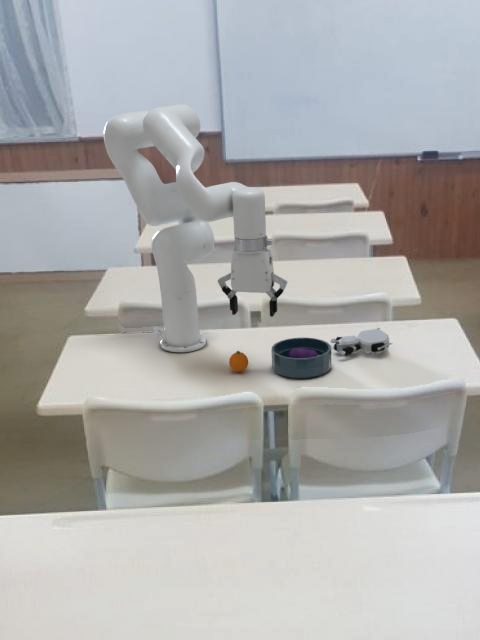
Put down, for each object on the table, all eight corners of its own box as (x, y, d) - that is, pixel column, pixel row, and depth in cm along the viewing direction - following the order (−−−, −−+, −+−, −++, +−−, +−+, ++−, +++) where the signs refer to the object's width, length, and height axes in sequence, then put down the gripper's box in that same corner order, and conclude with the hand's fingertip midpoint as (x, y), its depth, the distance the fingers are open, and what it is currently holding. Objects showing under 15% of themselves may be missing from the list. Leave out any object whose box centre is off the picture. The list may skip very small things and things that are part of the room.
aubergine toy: (286, 366, 219) (285, 351, 216) (291, 359, 222) (290, 345, 219) (319, 369, 216) (318, 355, 214) (323, 362, 219) (323, 348, 217)
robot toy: (339, 365, 221) (395, 356, 223) (338, 349, 219) (394, 340, 220) (329, 349, 232) (382, 340, 233) (328, 333, 229) (381, 324, 230)
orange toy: (226, 374, 217) (225, 353, 214) (233, 366, 221) (232, 346, 218) (244, 375, 215) (243, 355, 212) (251, 368, 219) (250, 348, 216)
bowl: (264, 376, 215) (263, 355, 212) (283, 355, 227) (282, 335, 224) (321, 382, 210) (321, 361, 207) (337, 360, 222) (337, 340, 219)
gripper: (289, 240, 202) (290, 310, 212) (219, 238, 206) (224, 307, 215) (282, 249, 196) (284, 320, 206) (211, 246, 200) (216, 317, 209)
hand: (253, 314), depth 210 cm, fingers open, 9 cm apart
